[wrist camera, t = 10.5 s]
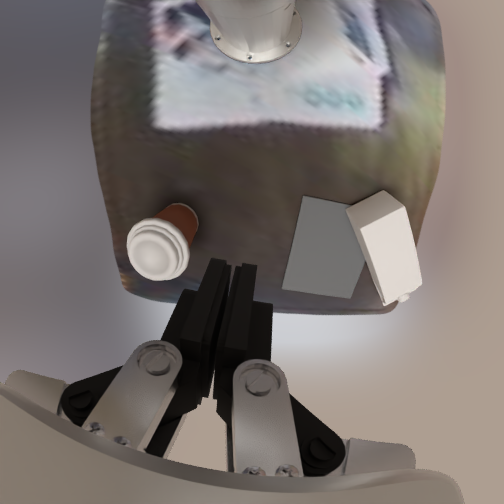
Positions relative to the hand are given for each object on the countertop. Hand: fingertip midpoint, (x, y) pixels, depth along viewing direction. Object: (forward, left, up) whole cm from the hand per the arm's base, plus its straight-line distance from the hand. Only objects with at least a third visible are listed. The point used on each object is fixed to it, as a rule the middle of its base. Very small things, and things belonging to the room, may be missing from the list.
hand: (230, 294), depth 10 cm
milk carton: (+3, +16, -27) cm, 31 cm away
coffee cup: (+12, -12, -31) cm, 36 cm away
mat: (+13, +13, -31) cm, 36 cm away
